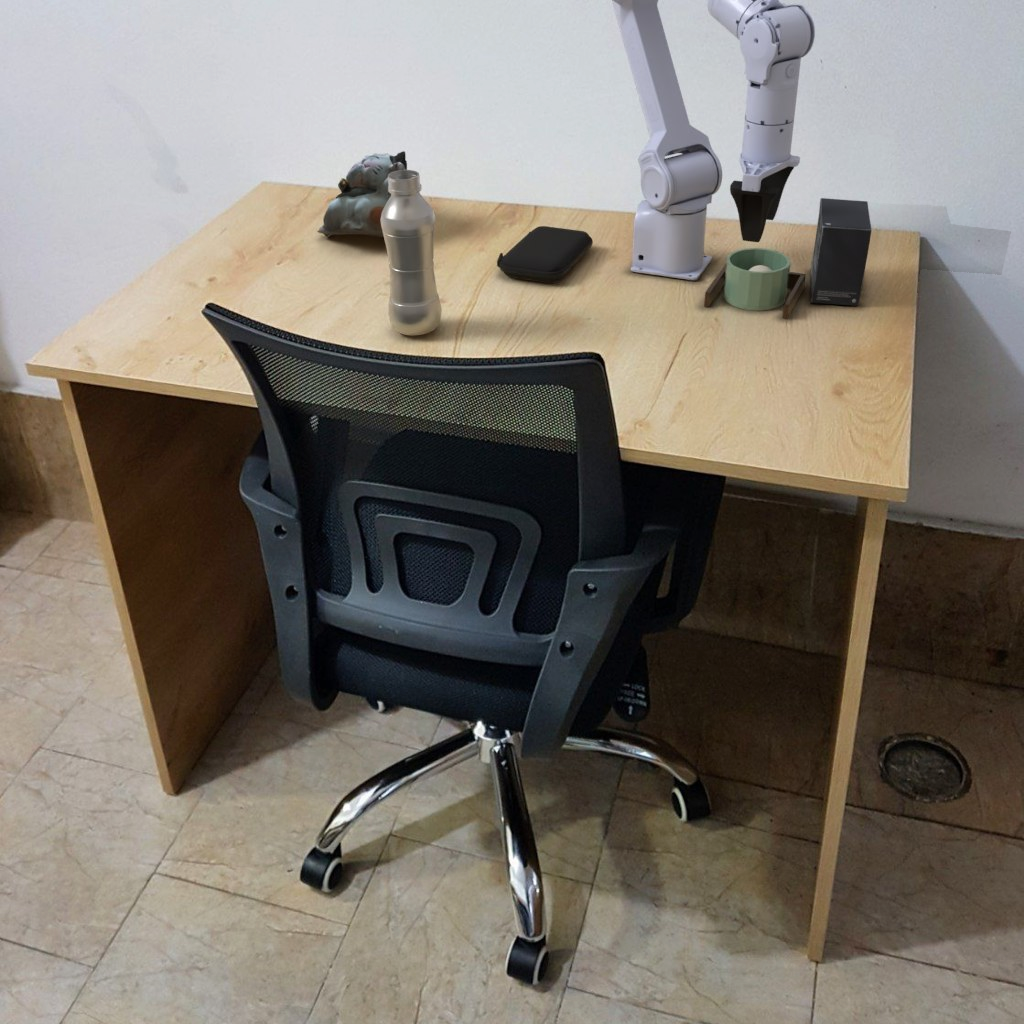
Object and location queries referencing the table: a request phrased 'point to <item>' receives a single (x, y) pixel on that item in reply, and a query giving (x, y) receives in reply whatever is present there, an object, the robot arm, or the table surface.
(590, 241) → the carrying case
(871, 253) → the table surface
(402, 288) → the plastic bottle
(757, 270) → the off-white sphere
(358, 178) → the lucky cat figurine
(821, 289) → the small box
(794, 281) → the bar
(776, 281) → the waste bin
